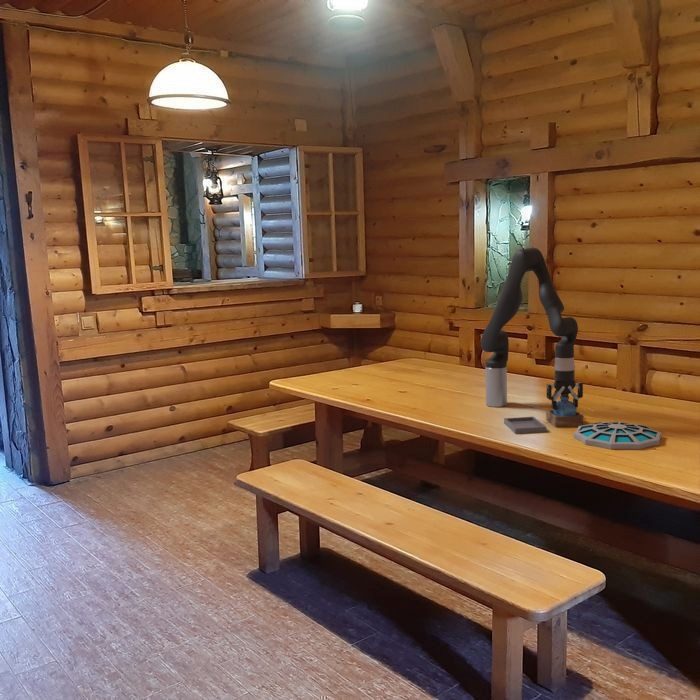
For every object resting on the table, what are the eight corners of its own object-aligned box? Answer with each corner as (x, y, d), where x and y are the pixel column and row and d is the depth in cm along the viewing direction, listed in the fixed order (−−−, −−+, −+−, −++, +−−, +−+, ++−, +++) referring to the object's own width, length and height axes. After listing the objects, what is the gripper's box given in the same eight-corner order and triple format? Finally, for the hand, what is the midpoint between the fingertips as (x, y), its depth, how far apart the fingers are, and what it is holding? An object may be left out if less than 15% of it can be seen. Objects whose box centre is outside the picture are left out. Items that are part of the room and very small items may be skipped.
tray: (504, 423, 292) (504, 418, 292) (533, 421, 293) (533, 416, 292) (515, 433, 276) (515, 428, 276) (546, 431, 277) (546, 426, 277)
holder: (546, 420, 294) (546, 410, 293) (573, 418, 294) (573, 408, 294) (555, 427, 283) (555, 417, 282) (583, 425, 283) (583, 415, 283)
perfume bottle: (553, 422, 290) (553, 392, 288) (565, 420, 292) (565, 390, 291) (563, 425, 284) (563, 395, 283) (576, 423, 287) (576, 393, 285)
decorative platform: (558, 440, 266) (558, 427, 265) (596, 423, 286) (596, 411, 286) (641, 456, 244) (641, 441, 244) (676, 436, 265) (676, 423, 264)
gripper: (578, 365, 289) (578, 405, 292) (543, 367, 288) (543, 408, 291) (586, 369, 282) (586, 410, 284) (549, 371, 281) (550, 412, 283)
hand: (564, 409), depth 287 cm, fingers closed on perfume bottle, 7 cm apart
